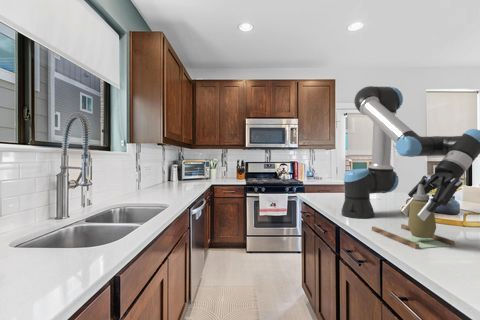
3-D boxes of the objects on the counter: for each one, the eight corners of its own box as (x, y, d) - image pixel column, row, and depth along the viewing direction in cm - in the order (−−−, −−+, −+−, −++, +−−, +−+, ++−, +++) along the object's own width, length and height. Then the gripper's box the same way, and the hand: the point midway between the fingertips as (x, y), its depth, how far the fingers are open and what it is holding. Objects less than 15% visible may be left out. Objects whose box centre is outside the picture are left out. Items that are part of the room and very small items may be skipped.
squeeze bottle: (442, 239, 85) (441, 185, 85) (418, 240, 86) (416, 186, 85) (425, 232, 93) (424, 182, 93) (403, 233, 94) (401, 183, 93)
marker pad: (397, 239, 93) (397, 238, 93) (424, 236, 95) (424, 236, 95) (420, 248, 84) (420, 247, 84) (450, 245, 85) (450, 245, 85)
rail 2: (401, 228, 107) (401, 224, 107) (403, 228, 107) (403, 224, 107) (451, 245, 85) (451, 241, 85) (454, 245, 85) (454, 241, 85)
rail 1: (371, 230, 105) (371, 226, 105) (374, 230, 105) (374, 226, 105) (415, 248, 83) (415, 244, 83) (418, 248, 83) (418, 244, 83)
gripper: (422, 159, 100) (385, 203, 98) (474, 159, 81) (429, 214, 79) (435, 172, 101) (398, 216, 99) (489, 175, 82) (445, 230, 80)
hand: (412, 215), depth 89 cm, fingers closed on squeeze bottle, 6 cm apart
